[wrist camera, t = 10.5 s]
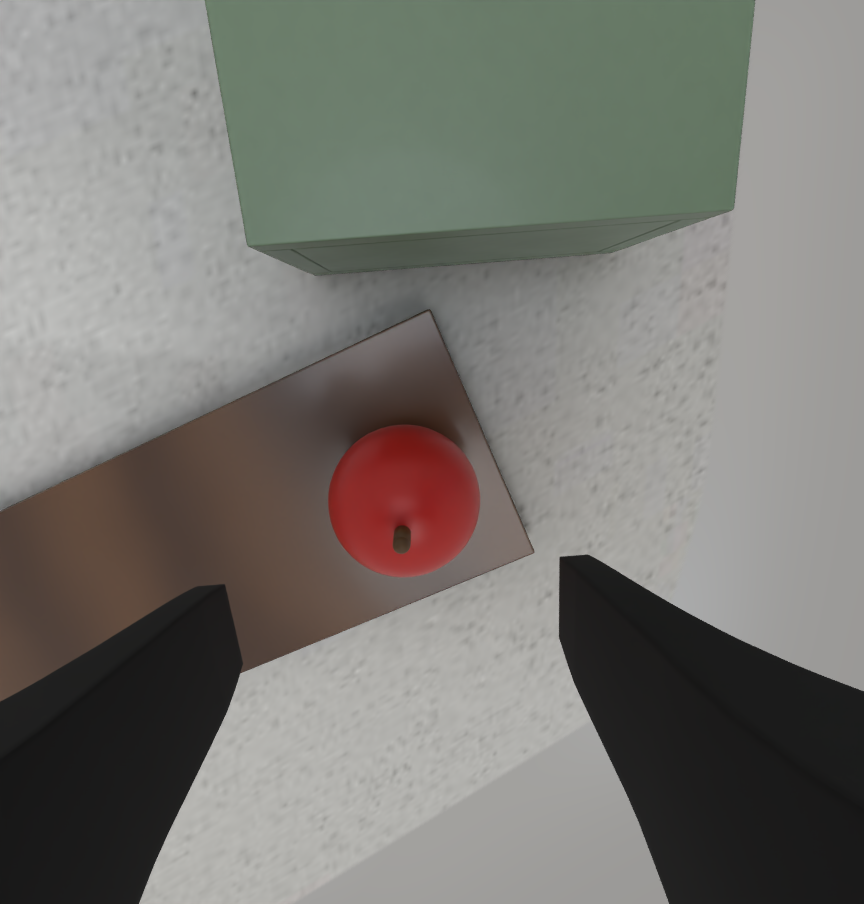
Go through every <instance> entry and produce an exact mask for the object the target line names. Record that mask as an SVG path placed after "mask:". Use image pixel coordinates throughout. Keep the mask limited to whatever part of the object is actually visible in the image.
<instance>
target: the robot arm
mask: <svg viewBox="0 0 864 904" xmlns="http://www.w3.org/2000/svg"><path fill="white" fill-rule="evenodd" d="M559 639H560V642H561V645H562V648H563V651H564V654H565V657H566V660H567V663H568V666H569V669H570V672H571V675H572V678H573V681H574V683H575V686H576V688H577V690H578V692H579V694H580V696H581V699H582V701H583V703H584V705H585V707H586V709H587V711H588V714H589V716H590V718H591V720H592V722H593V724H594V726H595V728H596V730H597V732H598V735H599V737H600V739H601V741H602V743H603V745H604V747H605V749H606V752H607V754H608V756H609V758H610V760H611V762H612V764H613V766H614V768H615V770H616V773H617V775H618V776H619V779H620V781H621V783H622V785H623V787H624V789H625V792H626V794H627V796H628V798H629V801H630V803H631V805H632V807H633V810H634V812H635V814H636V817H637V819H638V821H639V824H640V826H641V829H642V832H643V834H644V837H645V840H646V842H647V845H648V848H649V850H650V853H651V856H652V858H653V861H654V864H655V866H656V869H657V872H658V874H659V877H660V880H661V882H662V885H663V888H664V890H665V893H666V896H667V898H668V902H669V904H864V691H861V690H859V689H856V688H853V687H851V686H848V685H845V684H843V683H840V682H837V681H835V680H832V679H829V678H827V677H824V676H822V675H819V674H817V673H814V672H811V671H809V670H807V669H804V668H802V667H799V666H797V665H795V664H792V663H790V662H788V661H785V660H783V659H781V658H779V657H777V656H774V655H772V654H770V653H768V652H765V651H763V650H761V649H759V648H757V647H754V646H752V645H750V644H748V643H745V642H743V641H741V640H739V639H737V638H735V637H733V636H731V635H729V634H727V633H725V632H723V631H721V630H719V629H717V628H715V627H713V626H711V625H710V624H707V623H706V622H704V621H702V620H700V619H698V618H696V617H694V616H692V615H690V614H689V613H687V612H685V611H683V610H682V609H680V608H678V607H676V606H674V605H673V604H671V603H669V602H667V601H666V600H664V599H662V598H660V597H659V596H657V595H655V594H654V593H652V592H650V591H649V590H647V589H645V588H644V587H642V586H640V585H639V584H637V583H635V582H634V581H632V580H630V579H629V578H627V577H626V576H624V575H622V574H621V573H619V572H617V571H616V570H614V569H612V568H611V567H609V566H608V565H606V564H604V563H602V562H601V561H599V560H597V559H595V558H594V557H592V556H590V555H577V556H565V557H560V576H559ZM242 666H243V660H242V656H241V651H240V647H239V643H238V638H237V634H236V630H235V625H234V621H233V617H232V612H231V608H230V604H229V599H228V595H227V591H226V586H225V584H219V585H207V586H196V587H194V588H192V589H190V590H188V591H186V592H184V593H183V594H181V595H179V596H177V597H175V598H174V599H172V600H170V601H169V602H167V603H165V604H164V605H162V606H160V607H159V608H157V609H156V610H154V611H152V612H151V613H149V614H147V615H146V616H144V617H143V618H141V619H139V620H138V621H136V622H135V623H133V624H131V625H130V626H128V627H127V628H125V629H123V630H122V631H120V632H119V633H117V634H115V635H114V636H112V637H111V638H109V639H107V640H106V641H104V642H103V643H101V644H99V645H98V646H96V647H94V648H93V649H91V650H89V651H88V652H86V653H84V654H83V655H81V656H79V657H77V658H76V659H74V660H72V661H71V662H69V663H67V664H66V665H64V666H62V667H61V668H59V669H57V670H55V671H54V672H52V673H50V674H49V675H47V676H45V677H44V678H42V679H40V680H38V681H37V682H35V683H33V684H32V685H30V686H28V687H26V688H24V689H23V690H21V691H19V692H17V693H15V694H14V695H12V696H10V697H8V698H6V699H4V700H2V701H1V702H0V904H139V902H140V899H141V897H142V894H143V892H144V889H145V886H146V884H147V881H148V879H149V876H150V874H151V871H152V869H153V866H154V864H155V861H156V859H157V857H158V855H159V852H160V850H161V848H162V846H163V844H164V841H165V839H166V837H167V835H168V832H169V830H170V828H171V826H172V824H173V822H174V820H175V818H176V816H177V814H178V812H179V810H180V808H181V806H182V804H183V802H184V800H185V798H186V796H187V794H188V792H189V789H190V787H191V785H192V783H193V781H194V779H195V777H196V775H197V773H198V771H199V769H200V767H201V765H202V763H203V761H204V759H205V757H206V755H207V753H208V751H209V749H210V746H211V744H212V742H213V740H214V738H215V736H216V734H217V732H218V730H219V728H220V726H221V724H222V721H223V719H224V717H225V715H226V713H227V710H228V708H229V705H230V702H231V699H232V696H233V694H234V691H235V688H236V685H237V682H238V678H239V675H240V672H241V669H242Z"/></svg>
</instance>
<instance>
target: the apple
mask: <svg viewBox="0 0 864 904" xmlns="http://www.w3.org/2000/svg"><path fill="white" fill-rule="evenodd" d="M328 509H329V516H330V521H331V524H332V527H333V529H334V532H335V534H336V536H337V538H338V540H339V542H340V543H341V545H342V546H343V547H344V549H345V550H346V551H347V552H348V553H349V554H350V555H351V556H352V557H353V558H354V559H355V560H356V561H358V562H359V563H360V564H362V565H363V566H365V567H366V568H368V569H370V570H372V571H374V572H377V573H380V574H383V575H387V576H392V577H415V576H420V575H424V574H428V573H430V572H433V571H435V570H437V569H439V568H441V567H443V566H444V565H446V564H447V563H449V562H450V561H451V560H453V559H454V558H455V557H456V556H457V555H458V554H459V553H460V552H461V551H462V550H463V548H464V547H465V546H466V544H467V543H468V541H469V540H470V538H471V536H472V534H473V532H474V530H475V527H476V524H477V521H478V516H479V510H480V491H479V484H478V481H477V477H476V474H475V472H474V469H473V467H472V465H471V463H470V462H469V460H468V458H467V457H466V455H465V454H464V453H463V452H462V450H461V449H460V448H459V447H458V446H457V445H456V444H455V443H454V442H452V441H451V440H450V439H448V438H447V437H445V436H444V435H442V434H440V433H438V432H436V431H434V430H431V429H429V428H425V427H421V426H416V425H393V426H388V427H384V428H381V429H378V430H375V431H373V432H371V433H369V434H367V435H365V436H364V437H362V438H361V439H359V440H358V441H357V442H356V443H354V444H353V445H352V446H351V447H350V448H349V449H348V450H347V452H346V453H345V454H344V455H343V457H342V458H341V459H340V461H339V463H338V465H337V466H336V468H335V471H334V473H333V476H332V479H331V482H330V487H329V493H328Z"/></svg>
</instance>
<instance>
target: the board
mask: <svg viewBox="0 0 864 904" xmlns="http://www.w3.org/2000/svg"><path fill="white" fill-rule="evenodd" d="M393 425H416V426H421V427H425V428H429V429H431V430H434V431H436V432H438V433H440V434H442V435H444V436H445V437H447V438H448V439H450V440H451V441H452V442H454V443H455V444H456V445H457V446H458V447H459V448H460V449H461V450H462V452H463V453H464V454H465V455H466V457H467V458H468V460H469V462H470V463H471V465H472V467H473V469H474V472H475V474H476V477H477V481H478V484H479V491H480V510H479V516H478V521H477V524H476V527H475V530H474V532H473V534H472V536H471V538H470V540H469V541H468V543H467V544H466V546H465V547H464V548H463V550H462V551H461V552H460V553H459V554H458V555H457V556H456V557H455V558H454V559H453V560H451V561H450V562H449V563H447V564H446V565H444V566H443V567H441V568H439V569H437V570H435V571H433V572H430V573H428V574H424V575H420V576H415V577H392V576H387V575H383V574H380V573H377V572H374V571H372V570H370V569H368V568H366V567H365V566H363V565H362V564H360V563H359V562H358V561H356V560H355V559H354V558H353V557H352V556H351V555H350V554H349V553H348V552H347V551H346V550H345V549H344V547H343V546H342V545H341V543H340V542H339V540H338V538H337V536H336V534H335V532H334V529H333V527H332V524H331V521H330V516H329V509H328V493H329V487H330V482H331V479H332V476H333V473H334V471H335V468H336V466H337V465H338V463H339V461H340V459H341V458H342V457H343V455H344V454H345V453H346V452H347V450H348V449H349V448H350V447H351V446H352V445H353V444H354V443H356V442H357V441H358V440H359V439H361V438H362V437H364V436H365V435H367V434H369V433H371V432H373V431H375V430H378V429H381V428H384V427H388V426H393ZM533 553H534V549H533V547H532V545H531V542H530V540H529V538H528V535H527V533H526V531H525V528H524V526H523V524H522V521H521V519H520V517H519V514H518V512H517V510H516V507H515V505H514V503H513V500H512V498H511V496H510V493H509V491H508V489H507V486H506V484H505V482H504V479H503V477H502V475H501V473H500V470H499V468H498V466H497V463H496V461H495V459H494V456H493V454H492V452H491V449H490V447H489V445H488V442H487V440H486V438H485V435H484V433H483V431H482V428H481V426H480V424H479V421H478V419H477V417H476V414H475V412H474V410H473V407H472V405H471V403H470V400H469V398H468V396H467V393H466V391H465V389H464V386H463V384H462V382H461V379H460V377H459V375H458V372H457V370H456V368H455V365H454V363H453V361H452V359H451V356H450V354H449V352H448V349H447V347H446V345H445V342H444V340H443V338H442V335H441V333H440V331H439V328H438V326H437V324H436V321H435V319H434V317H433V314H432V312H431V310H430V309H428V310H426V311H424V312H422V313H419V314H417V315H415V316H413V317H411V318H409V319H407V320H405V321H402V322H400V323H398V324H396V325H394V326H392V327H390V328H388V329H385V330H383V331H381V332H379V333H377V334H375V335H373V336H371V337H368V338H366V339H364V340H362V341H360V342H358V343H356V344H354V345H352V346H349V347H347V348H345V349H343V350H341V351H339V352H337V353H335V354H332V355H330V356H328V357H326V358H324V359H322V360H320V361H318V362H315V363H313V364H311V365H309V366H307V367H305V368H303V369H301V370H299V371H296V372H294V373H292V374H290V375H288V376H286V377H284V378H282V379H279V380H277V381H275V382H273V383H271V384H269V385H267V386H265V387H262V388H260V389H258V390H256V391H254V392H252V393H250V394H248V395H246V396H243V397H241V398H239V399H237V400H235V401H233V402H231V403H229V404H226V405H224V406H222V407H220V408H218V409H216V410H214V411H212V412H209V413H207V414H205V415H203V416H201V417H199V418H197V419H195V420H193V421H190V422H188V423H186V424H184V425H182V426H180V427H178V428H176V429H173V430H171V431H169V432H167V433H165V434H163V435H161V436H159V437H156V438H154V439H152V440H150V441H148V442H146V443H144V444H142V445H139V446H137V447H135V448H133V449H131V450H129V451H127V452H125V453H123V454H120V455H118V456H116V457H114V458H112V459H110V460H108V461H106V462H103V463H101V464H99V465H97V466H95V467H93V468H91V469H89V470H86V471H84V472H82V473H80V474H78V475H76V476H74V477H72V478H70V479H67V480H65V481H63V482H61V483H59V484H57V485H55V486H53V487H50V488H48V489H46V490H44V491H42V492H40V493H38V494H36V495H33V496H31V497H29V498H27V499H25V500H23V501H21V502H19V503H17V504H14V505H12V506H10V507H8V508H6V509H4V510H2V511H0V702H1V701H2V700H4V699H6V698H8V697H10V696H12V695H14V694H15V693H17V692H19V691H21V690H23V689H24V688H26V687H28V686H30V685H32V684H33V683H35V682H37V681H38V680H40V679H42V678H44V677H45V676H47V675H49V674H50V673H52V672H54V671H55V670H57V669H59V668H61V667H62V666H64V665H66V664H67V663H69V662H71V661H72V660H74V659H76V658H77V657H79V656H81V655H83V654H84V653H86V652H88V651H89V650H91V649H93V648H94V647H96V646H98V645H99V644H101V643H103V642H104V641H106V640H107V639H109V638H111V637H112V636H114V635H115V634H117V633H119V632H120V631H122V630H123V629H125V628H127V627H128V626H130V625H131V624H133V623H135V622H136V621H138V620H139V619H141V618H143V617H144V616H146V615H147V614H149V613H151V612H152V611H154V610H156V609H157V608H159V607H160V606H162V605H164V604H165V603H167V602H169V601H170V600H172V599H174V598H175V597H177V596H179V595H181V594H183V593H184V592H186V591H188V590H190V589H192V588H194V587H196V586H207V585H219V584H225V586H226V591H227V595H228V599H229V604H230V608H231V612H232V617H233V621H234V625H235V630H236V634H237V638H238V643H239V647H240V651H241V656H242V660H243V666H242V669H241V672H240V673H242V672H245V671H247V670H250V669H252V668H255V667H257V666H259V665H262V664H264V663H267V662H269V661H272V660H274V659H277V658H279V657H281V656H284V655H286V654H289V653H291V652H294V651H296V650H299V649H301V648H303V647H306V646H308V645H311V644H313V643H316V642H318V641H320V640H323V639H325V638H328V637H330V636H333V635H335V634H338V633H340V632H342V631H345V630H347V629H350V628H352V627H355V626H357V625H360V624H362V623H364V622H367V621H369V620H372V619H374V618H377V617H379V616H381V615H384V614H386V613H389V612H391V611H394V610H396V609H399V608H401V607H403V606H406V605H408V604H411V603H413V602H416V601H418V600H421V599H423V598H425V597H428V596H430V595H433V594H435V593H438V592H440V591H443V590H445V589H447V588H450V587H452V586H455V585H457V584H460V583H462V582H464V581H467V580H469V579H472V578H474V577H477V576H479V575H482V574H484V573H486V572H489V571H491V570H494V569H496V568H499V567H501V566H504V565H506V564H508V563H511V562H513V561H516V560H518V559H521V558H523V557H525V556H528V555H530V554H533Z"/></svg>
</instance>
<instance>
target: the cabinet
mask: <svg viewBox="0 0 864 904" xmlns="http://www.w3.org/2000/svg"><path fill="white" fill-rule="evenodd" d="M205 4H206V10H207V16H208V22H209V27H210V33H211V39H212V45H213V50H214V56H215V62H216V68H217V74H218V79H219V85H220V91H221V97H222V102H223V108H224V114H225V120H226V125H227V131H228V137H229V143H230V149H231V154H232V160H233V166H234V172H235V177H236V183H237V189H238V195H239V200H240V206H241V212H242V218H243V224H244V229H245V235H246V241H247V245H248V247H251V248H253V249H255V250H257V251H260V252H262V253H264V254H267V255H269V256H271V257H273V258H276V259H278V260H280V261H283V262H285V263H287V264H289V265H292V266H294V267H296V268H298V269H301V270H303V271H305V272H308V273H311V274H313V275H328V274H341V273H354V272H368V271H381V270H394V269H407V268H420V267H433V266H446V265H460V264H473V263H486V262H499V261H512V260H525V259H538V258H552V257H565V256H578V255H591V254H604V253H612V252H615V251H618V250H621V249H624V248H626V247H629V246H632V245H635V244H638V243H641V242H643V241H646V240H649V239H652V238H655V237H657V236H660V235H663V234H666V233H669V232H672V231H674V230H677V229H680V228H683V227H686V226H689V225H691V224H694V223H697V222H700V221H703V220H706V219H708V218H711V217H715V216H717V215H720V214H723V213H726V212H729V211H731V210H733V209H734V203H735V193H736V183H737V173H738V164H739V154H740V144H741V134H742V125H743V115H744V105H745V95H746V85H747V76H748V66H749V56H750V46H751V37H752V27H753V17H754V7H755V0H205Z"/></svg>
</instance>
